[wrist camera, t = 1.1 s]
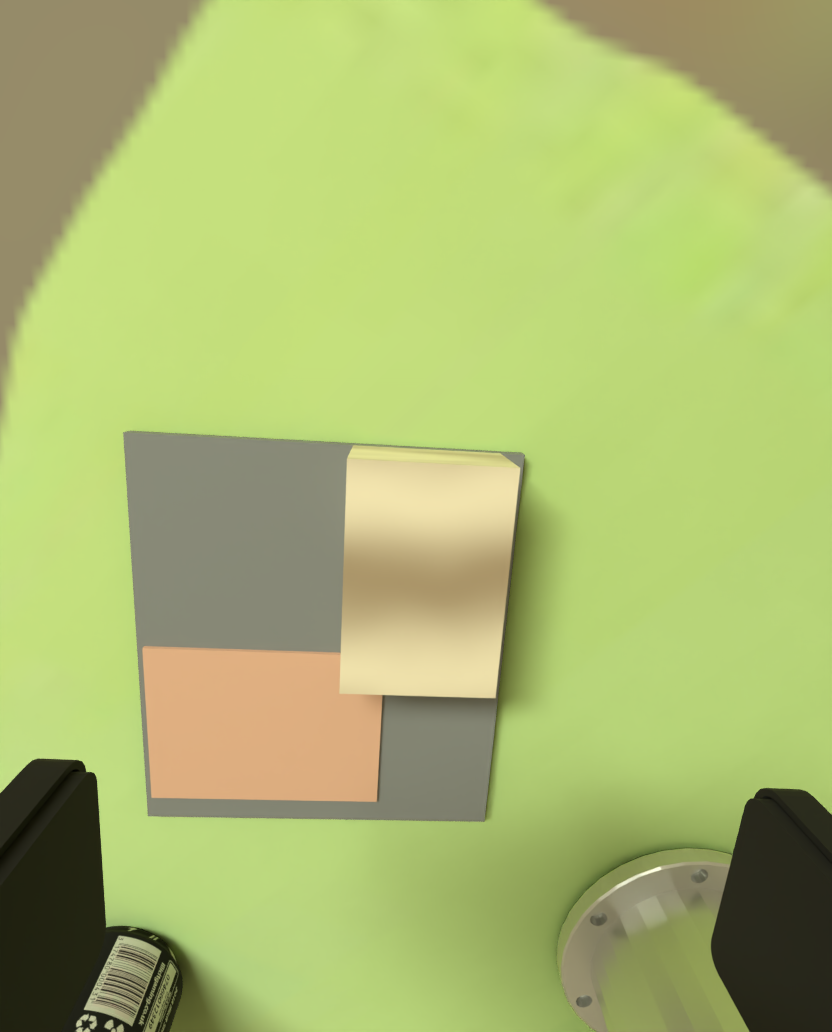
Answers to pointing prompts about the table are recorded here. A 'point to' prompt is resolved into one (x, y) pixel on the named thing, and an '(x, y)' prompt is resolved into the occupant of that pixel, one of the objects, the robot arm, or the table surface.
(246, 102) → the table surface
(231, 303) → the table surface
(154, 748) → the rubber mat
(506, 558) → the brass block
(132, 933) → the beverage can
